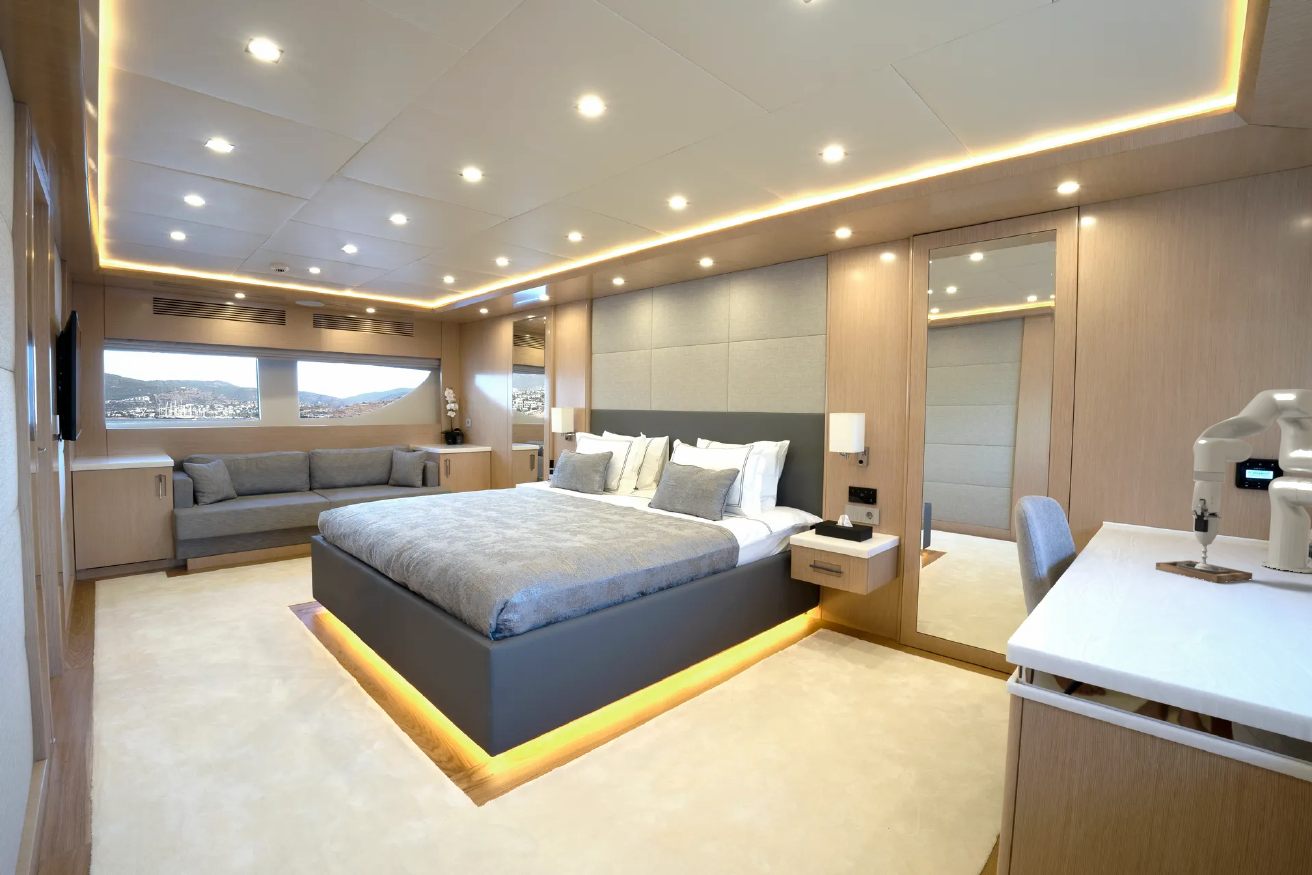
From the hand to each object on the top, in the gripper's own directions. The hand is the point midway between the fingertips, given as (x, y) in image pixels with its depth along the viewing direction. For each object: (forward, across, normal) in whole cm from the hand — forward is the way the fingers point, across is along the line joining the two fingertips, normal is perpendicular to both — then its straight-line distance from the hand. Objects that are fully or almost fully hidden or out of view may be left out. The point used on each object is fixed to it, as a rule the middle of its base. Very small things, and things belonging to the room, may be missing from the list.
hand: (1206, 530), depth 197 cm
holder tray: (+14, +1, 0) cm, 14 cm away
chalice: (+14, 0, 0) cm, 14 cm away
